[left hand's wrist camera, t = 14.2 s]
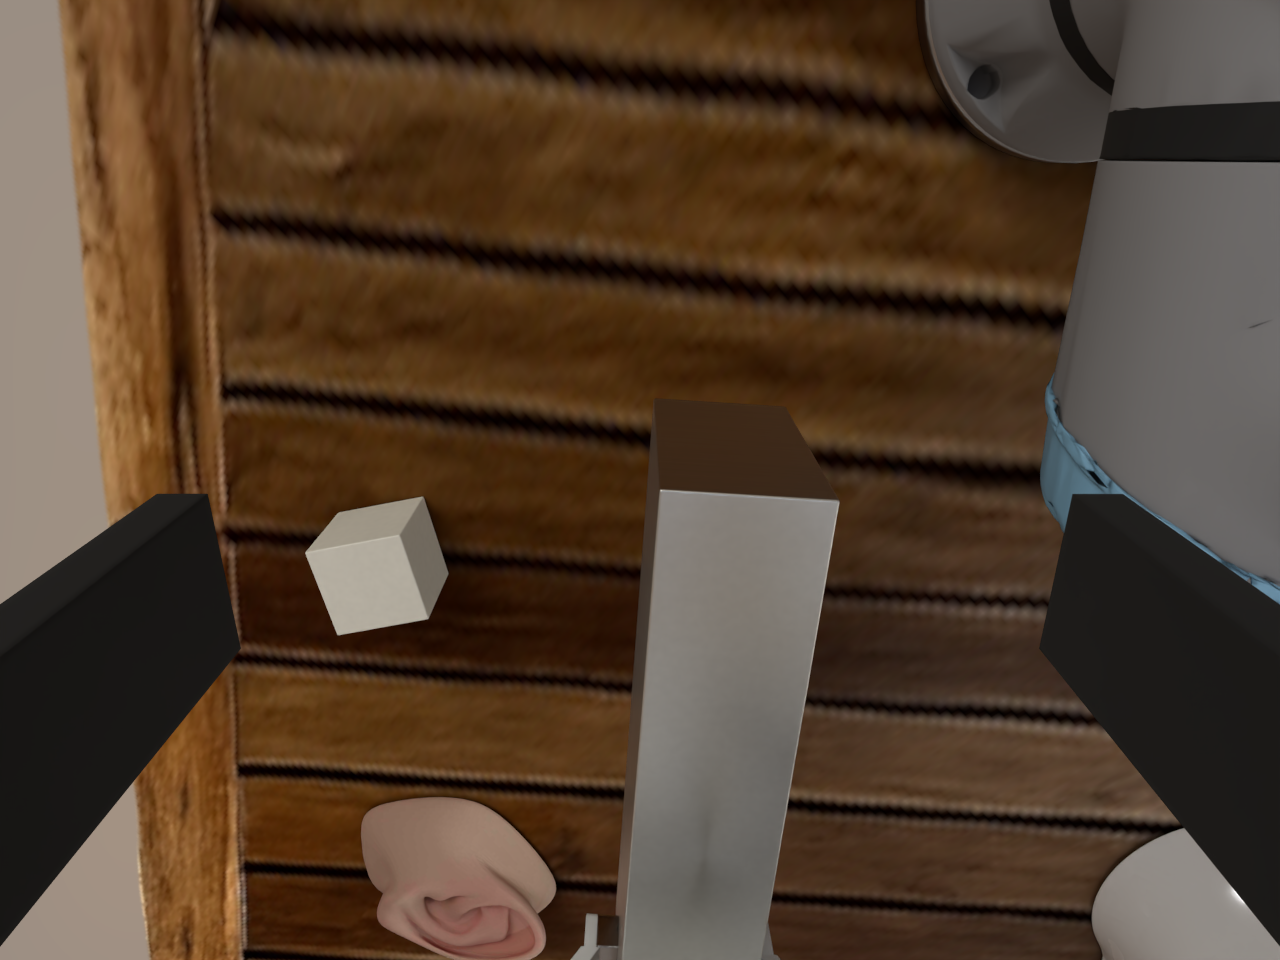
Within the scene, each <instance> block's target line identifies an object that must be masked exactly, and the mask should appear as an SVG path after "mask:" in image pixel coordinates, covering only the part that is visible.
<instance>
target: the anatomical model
mask: <svg viewBox="0 0 1280 960" xmlns="http://www.w3.org/2000/svg"><path fill="white" fill-rule="evenodd" d="M361 839H362V850H363V857H364V861H365V865H366V868H367V871H368V875H369V877H370V879H371V881H372V883H373V884H374V885H375V887H376V888H377V889H378V890H380V891H381V892H382V893H383V895H382V898H381V900H380V902H379V905H378V909H377V917H378V920H379V922H380V924H381V925H382V926H384V927H385V928H387V929H388V930H390V931H392V932H394V933H396V934H398V935H400V936H402V937H404V938H406V939H408V940H410V941H413V942H415V943H417V944H419V945H421V946H423V947H425V948H427V949H429V950H431V951H433V952H436V953H438V954H440V955H443V956H445V957H448V958H451V959H454V960H530V959H532V958H534V957H536V956H537V955H538V954H539V953H541V951H542V950H543V948H544V946H545V943H546V934H545V929H544V926H543V923H542V921H541V919H540V917H539V916H538V913H539V912H540V911H541V910H543V909H544V908H545V907H546V906H547V905H548V904H549V903H550V902H551V901H552V899H553V897H554V895H555V892H556V883H555V880H554V878H553V875H552V874H551V872H550V870H549V869H548V867H547V865H546V864H545V863H544V861H543V860H542V859H541V857H540V856H539V855H538V854H537V852H536V851H535V850H534V849H533V848H532V846H531V845H530V844H529V843H528V842H527V841H526V840H525V839H524V838H523V837H522V836H521V834H520V833H519V832H518V831H517V830H516V829H515V828H513V827H512V826H511V825H510V824H509V823H508V822H507V821H506V820H504V819H503V818H502V817H501V816H500V815H498V814H497V813H495V812H494V811H493V810H491V809H489V808H488V807H486V806H484V805H482V804H479V803H477V802H474V801H470V800H466V799H460V798H451V797H426V798H415V799H407V800H400V801H395V802H390V803H386V804H382V805H379V806H377V807H375V808H373V809H371V810H370V811H368V812H367V813H366V815H365V816H364V818H363V821H362V826H361Z"/></svg>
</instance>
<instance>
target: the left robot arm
mask: <svg viewBox="0 0 1280 960" xmlns="http://www.w3.org/2000/svg"><path fill="white" fill-rule="evenodd" d="M916 15H917V27H918V34H919V41H920V45H921V49H922V53H923V58H924V61H925V64H926V66H927V69H928V72H929V75H930V77H931V79H932V81H933V84H934V86H935V88H936V90H937V92H938V93H939V95H940V97H941V98H942V100H943V102H944V103H945V105H946V106H947V107H948V109H949V110H950V111H951V113H952V114H953V115H954V116H955V117H956V118H957V120H958V121H959V122H960V123H961V124H962V125H963V126H964V127H965V128H966V129H968V130H969V131H970V132H971V133H972V134H974V135H975V136H976V137H977V138H979V139H980V140H982V141H983V142H985V143H986V144H988V145H990V146H992V147H994V148H996V149H998V150H1000V151H1002V152H1004V153H1007V154H1010V155H1012V156H1015V157H1019V158H1023V159H1027V160H1031V161H1039V162H1050V163H1083V162H1094V161H1098V163H1097V168H1096V174H1095V179H1094V184H1093V189H1092V194H1091V199H1090V204H1089V209H1088V214H1087V220H1086V225H1085V230H1084V235H1083V240H1082V245H1081V250H1080V255H1079V260H1078V265H1077V269H1076V274H1075V279H1074V283H1073V288H1072V293H1071V297H1070V302H1069V307H1068V312H1067V316H1066V321H1065V326H1064V330H1063V335H1062V340H1061V345H1060V349H1059V354H1058V359H1057V363H1056V368H1055V373H1054V374H1053V376H1052V378H1051V380H1050V382H1049V383H1048V385H1047V389H1046V392H1045V406H1046V413H1047V416H1048V422H1047V429H1046V436H1045V443H1044V450H1043V457H1042V464H1041V472H1040V481H1041V489H1042V494H1043V497H1044V500H1045V503H1046V506H1047V507H1048V509H1049V510H1050V512H1051V513H1052V515H1053V516H1054V518H1055V519H1056V520H1057V521H1058V522H1059V523H1060V527H1061V530H1062V531H1063V533H1064V536H1063V540H1062V545H1061V550H1060V554H1059V559H1058V564H1057V568H1056V573H1055V578H1054V582H1053V587H1052V592H1051V596H1050V601H1049V606H1048V610H1047V615H1046V619H1045V624H1044V629H1043V633H1042V638H1041V643H1040V647H1039V649H1040V650H1041V651H1042V653H1043V654H1044V655H1045V656H1046V657H1047V659H1048V660H1049V661H1050V662H1051V664H1052V665H1053V666H1054V667H1055V669H1056V670H1057V671H1058V672H1059V674H1060V675H1061V676H1062V677H1063V679H1064V680H1065V681H1066V682H1067V684H1068V685H1069V686H1070V687H1071V688H1072V690H1073V691H1074V692H1075V693H1076V695H1077V696H1078V697H1079V698H1080V700H1081V701H1082V702H1083V703H1084V705H1085V706H1086V707H1087V708H1088V710H1089V711H1090V712H1091V713H1092V714H1093V716H1094V717H1095V718H1096V719H1097V721H1098V722H1099V723H1100V724H1101V726H1102V727H1103V728H1104V729H1105V731H1106V732H1107V733H1108V734H1109V736H1110V737H1111V738H1112V739H1113V740H1114V742H1115V743H1116V744H1117V745H1118V747H1119V748H1120V749H1121V750H1122V752H1123V753H1124V754H1125V755H1126V757H1127V758H1128V759H1129V760H1130V762H1131V763H1132V764H1133V765H1134V767H1135V768H1136V769H1137V770H1138V771H1139V773H1140V774H1141V775H1142V776H1143V778H1144V779H1145V780H1146V781H1147V783H1148V784H1149V785H1150V786H1151V788H1152V789H1153V790H1154V791H1155V793H1156V794H1157V795H1158V796H1159V797H1160V799H1161V800H1162V801H1163V802H1164V804H1165V805H1166V806H1167V807H1168V809H1169V810H1170V811H1171V812H1172V814H1173V815H1174V816H1175V817H1176V819H1177V820H1178V821H1179V822H1180V823H1181V825H1182V826H1183V827H1184V828H1185V830H1186V831H1187V832H1188V833H1189V835H1190V836H1191V837H1192V838H1193V840H1194V841H1195V842H1196V843H1197V845H1198V846H1199V847H1200V848H1201V850H1202V851H1203V852H1204V853H1205V854H1206V856H1207V857H1208V858H1209V859H1210V861H1211V862H1212V863H1213V864H1214V866H1215V867H1216V868H1217V869H1218V871H1219V872H1220V873H1221V874H1222V876H1223V877H1224V878H1225V879H1226V880H1227V882H1228V883H1229V884H1230V885H1231V887H1232V888H1233V889H1234V890H1235V892H1236V893H1237V894H1238V895H1239V897H1240V898H1241V899H1242V900H1243V902H1244V903H1245V904H1246V905H1247V906H1248V908H1249V909H1250V910H1251V911H1252V913H1253V914H1254V915H1255V916H1256V918H1257V919H1258V920H1259V921H1260V923H1261V924H1262V925H1263V926H1264V928H1265V929H1266V930H1267V931H1268V933H1269V934H1270V935H1271V936H1272V937H1273V939H1274V940H1275V941H1276V942H1277V944H1278V945H1279V946H1280V0H916ZM1104 159H1107V160H1104ZM1132 159H1172V160H1132ZM240 649H241V647H240V643H239V638H238V633H237V629H236V624H235V620H234V615H233V610H232V606H231V601H230V596H229V592H228V587H227V582H226V578H225V573H224V568H223V564H222V559H221V554H220V550H219V545H218V540H217V536H216V531H215V526H214V522H213V517H212V512H211V508H210V503H209V498H208V494H156V495H155V496H153V497H152V498H151V499H149V500H148V501H146V502H145V503H143V504H142V505H141V506H139V507H138V508H136V509H135V510H134V511H132V512H131V513H129V514H128V515H126V516H125V517H124V518H122V519H121V520H119V521H118V522H116V523H115V524H114V525H112V526H111V527H109V528H108V529H107V530H105V531H104V532H102V533H101V534H99V535H98V536H97V537H95V538H94V539H92V540H91V541H89V542H88V543H87V544H85V545H84V546H82V547H81V548H80V549H78V550H77V551H75V552H74V553H73V554H71V555H70V556H68V557H67V558H65V559H64V560H62V561H61V562H60V563H58V564H57V565H55V566H54V567H53V568H51V569H50V570H48V571H47V572H45V573H44V574H43V575H41V576H40V577H38V578H37V579H36V580H34V581H33V582H31V583H30V584H28V585H27V586H26V587H24V588H23V589H21V590H20V591H18V592H17V593H16V594H14V595H13V596H11V597H10V598H9V599H7V600H6V601H4V602H3V603H1V604H0V946H1V945H2V944H3V942H4V941H5V940H6V939H7V937H8V936H9V935H10V934H11V933H12V931H13V930H14V929H15V928H16V926H17V925H18V924H19V923H20V921H21V920H22V919H23V918H24V916H25V915H26V914H27V913H28V911H29V910H30V909H31V908H32V906H33V905H34V904H35V903H36V902H37V900H38V899H39V898H40V896H41V895H42V894H43V893H44V892H45V890H46V889H47V888H48V887H49V885H50V884H51V883H52V882H53V880H54V879H55V878H56V877H57V876H58V874H59V873H60V872H61V871H62V869H63V868H64V867H65V866H66V864H67V863H68V862H69V861H70V859H71V858H72V857H73V856H74V854H75V853H76V852H77V851H78V850H79V848H80V847H81V846H82V845H83V843H84V842H85V841H86V840H87V838H88V837H89V836H90V835H91V833H92V832H93V831H94V830H95V828H96V827H97V826H98V825H99V823H100V822H101V821H102V820H103V819H104V817H105V816H106V815H107V814H108V812H109V811H110V810H111V809H112V807H113V806H114V805H115V804H116V802H117V801H118V800H119V799H120V797H121V796H122V795H123V794H124V793H125V791H126V790H127V789H128V788H129V786H130V785H131V784H132V783H133V781H134V780H135V779H136V778H137V776H138V775H139V774H140V773H141V771H142V770H143V769H144V768H145V767H146V765H147V764H148V763H149V762H150V760H151V759H152V758H153V757H154V755H155V754H156V753H157V752H158V750H159V749H160V748H161V747H162V745H163V744H164V743H165V742H166V740H167V739H168V738H169V737H170V736H171V734H172V733H173V732H174V731H175V729H176V728H177V727H178V726H179V724H180V723H181V722H182V721H183V719H184V718H185V717H186V716H187V714H188V713H189V712H190V711H191V710H192V708H193V707H194V706H195V705H196V703H197V702H198V701H199V700H200V698H201V697H202V696H203V695H204V693H205V692H206V691H207V690H208V688H209V687H210V686H211V685H212V684H213V682H214V681H215V680H216V679H217V677H218V676H219V675H220V674H221V672H222V671H223V670H224V669H225V667H226V666H227V665H228V664H229V662H230V661H231V660H232V659H233V657H234V656H235V655H236V654H237V653H238V651H239V650H240Z"/></svg>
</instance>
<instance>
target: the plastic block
mask: <svg viewBox="0 0 1280 960" xmlns="http://www.w3.org/2000/svg"><path fill="white" fill-rule="evenodd" d="M306 556H307V559H308V561H309V564H310V566H311V569H312V571H313V574H314V576H315V579H316V581H317V584H318V587H319V589H320V592H321V594H322V597H323V599H324V602H325V604H326V607H327V609H328V612H329V614H330V617H331V619H332V622H333V625H334V627H335V630H336V632H337V635H342V634H348V633H353V632H359V631H365V630H370V629H376V628H381V627H387V626H393V625H398V624H404V623H409V622H415V621H421V620H426V619H429V616H430V614H431V612H432V610H433V607H434V605H435V603H436V601H437V598H438V596H439V594H440V592H441V589H442V587H443V585H444V583H445V580H446V578H447V576H448V571H447V567H446V564H445V561H444V558H443V555H442V552H441V549H440V546H439V543H438V540H437V537H436V534H435V530H434V527H433V524H432V521H431V518H430V515H429V512H428V509H427V506H426V503H425V500H424V497H418V498H413V499H408V500H402V501H397V502H392V503H386V504H381V505H376V506H371V507H365V508H360V509H355V510H349V511H344V512H339V513H338V514H337V515H336V516H335V517H334V519H333V520H332V521H331V522H330V523H329V525H328V526H327V527H326V528H325V529H324V531H323V532H322V533H321V534H320V536H319V537H318V538H317V539H316V540H315V542H314V543H313V544H312V545H311V546H310V548H309V549H308V550H307V551H306Z"/></svg>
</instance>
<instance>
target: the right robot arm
mask: <svg viewBox="0 0 1280 960" xmlns="http://www.w3.org/2000/svg"><path fill="white" fill-rule="evenodd" d="M1092 927H1093V931H1094V934H1095V937H1096V939H1097V941H1098V943H1099V945H1100V947H1101V950H1102V954H1103V956H1102V960H1280V946H1279V945H1278V944H1277V942H1276V941H1275V940H1274V939H1273V937H1272V936H1271V935H1270V934H1269V933H1268V931H1267V930H1266V929H1265V928H1264V926H1263V925H1262V924H1261V923H1260V921H1259V920H1258V919H1257V918H1256V916H1255V915H1254V914H1253V913H1252V911H1251V910H1250V909H1249V908H1248V906H1247V905H1246V904H1245V903H1244V902H1243V900H1242V899H1241V898H1240V897H1239V895H1238V894H1237V893H1236V892H1235V890H1234V889H1233V888H1232V887H1231V885H1230V884H1229V883H1228V882H1227V880H1226V879H1225V878H1224V877H1223V876H1222V874H1221V873H1220V872H1219V871H1218V869H1217V868H1216V867H1215V866H1214V864H1213V863H1212V862H1211V861H1210V859H1209V858H1208V857H1207V856H1206V854H1205V853H1204V852H1203V851H1202V850H1201V848H1200V847H1199V846H1198V845H1197V843H1196V842H1195V841H1194V840H1193V838H1192V837H1191V836H1190V835H1189V833H1188V832H1187V831H1186V830H1185V828H1182V829H1179V830H1176V831H1173V832H1170V833H1168V834H1165V835H1163V836H1161V837H1159V838H1157V839H1154V840H1152V841H1151V842H1149V843H1147V844H1145V845H1144V846H1142V847H1140V848H1139V849H1137V850H1136V851H1134V852H1133V853H1132V854H1130V855H1129V856H1128V857H1126V858H1125V859H1124V860H1123V861H1122V862H1121V863H1120V864H1119V865H1118V866H1117V867H1116V868H1115V869H1114V870H1113V871H1112V872H1111V873H1110V874H1109V876H1108V877H1107V878H1106V880H1105V881H1104V882H1103V884H1102V886H1101V887H1100V889H1099V891H1098V893H1097V896H1096V898H1095V901H1094V904H1093V909H1092ZM618 929H619V916H617V915H604V914H587V915H586V926H585V941H584V946H581V947H580V948H579V950H578V951H577V952H576V953H575V955H574V956H573V957H572V959H571V960H617V957H618V937H619V932H618ZM761 960H781V959H780V958H779V957H778V956H777V955H774V954H773V948H772V942H771V937H770V931H769V925H768V923H767V928H766V934H765V940H764V946H763V952H762V958H761Z"/></svg>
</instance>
